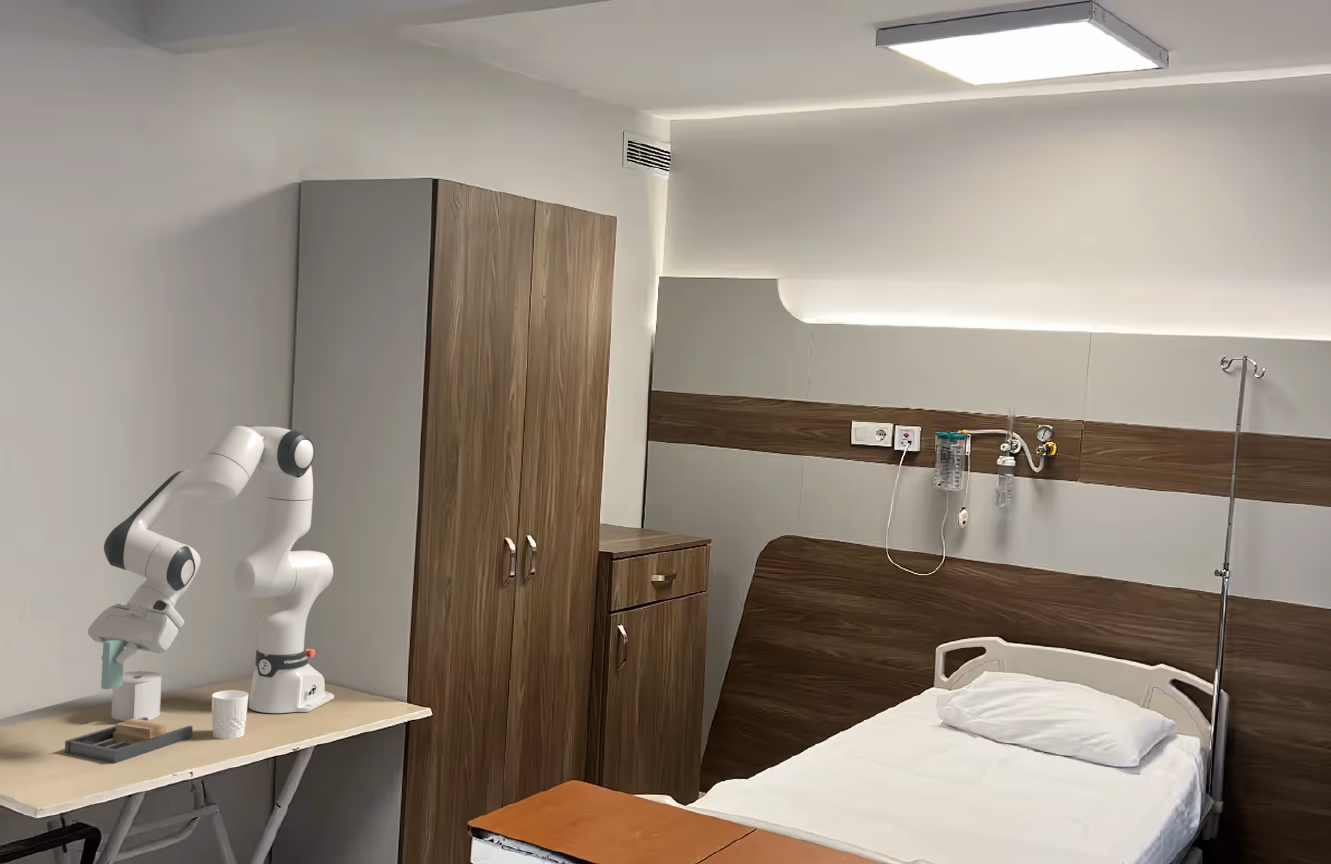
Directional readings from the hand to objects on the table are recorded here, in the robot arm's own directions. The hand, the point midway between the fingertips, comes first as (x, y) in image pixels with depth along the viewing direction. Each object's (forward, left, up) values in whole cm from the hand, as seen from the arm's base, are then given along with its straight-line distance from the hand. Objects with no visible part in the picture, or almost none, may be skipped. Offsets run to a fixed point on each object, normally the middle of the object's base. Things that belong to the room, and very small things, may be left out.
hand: (110, 661), depth 261 cm
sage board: (-1, 0, -6) cm, 6 cm away
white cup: (-23, +12, -20) cm, 33 cm away
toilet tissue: (-24, -16, -20) cm, 35 cm away
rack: (-6, 0, -20) cm, 21 cm away
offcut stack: (-9, 0, -19) cm, 21 cm away
